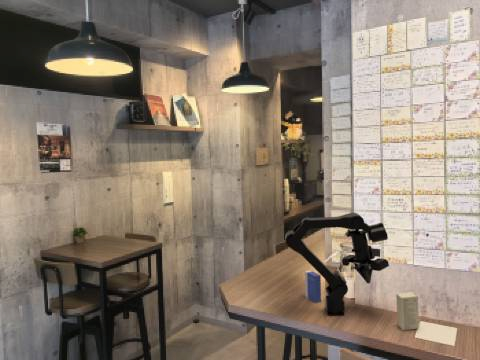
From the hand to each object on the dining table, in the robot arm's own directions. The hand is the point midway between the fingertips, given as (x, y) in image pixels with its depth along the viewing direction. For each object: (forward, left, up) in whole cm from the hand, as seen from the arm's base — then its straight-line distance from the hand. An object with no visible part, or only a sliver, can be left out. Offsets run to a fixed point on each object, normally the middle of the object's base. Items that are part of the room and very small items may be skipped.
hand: (368, 283), depth 154 cm
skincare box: (+11, -13, -12) cm, 20 cm away
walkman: (-20, +13, -12) cm, 27 cm away
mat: (+19, -17, -12) cm, 28 cm away
